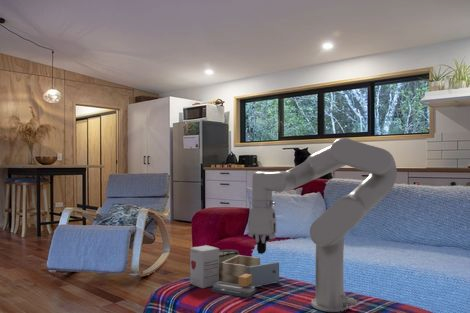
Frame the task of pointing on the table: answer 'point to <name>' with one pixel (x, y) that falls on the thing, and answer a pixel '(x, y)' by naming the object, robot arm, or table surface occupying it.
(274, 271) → the door
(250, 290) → the fader board
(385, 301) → the table surface
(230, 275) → the tan open box
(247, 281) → the fader knob
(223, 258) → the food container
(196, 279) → the supplement box
